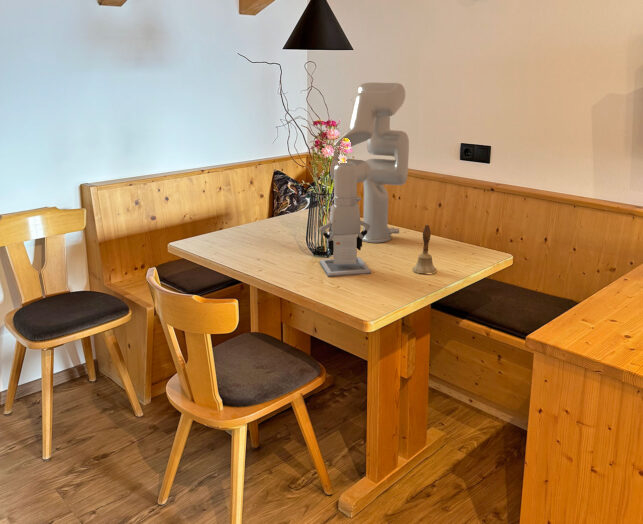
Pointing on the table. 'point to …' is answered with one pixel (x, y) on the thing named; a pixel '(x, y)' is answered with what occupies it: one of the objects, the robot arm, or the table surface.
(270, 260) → the table surface
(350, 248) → the small box
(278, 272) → the table surface
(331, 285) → the table surface
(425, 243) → the hand bell
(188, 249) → the table surface
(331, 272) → the docking base
